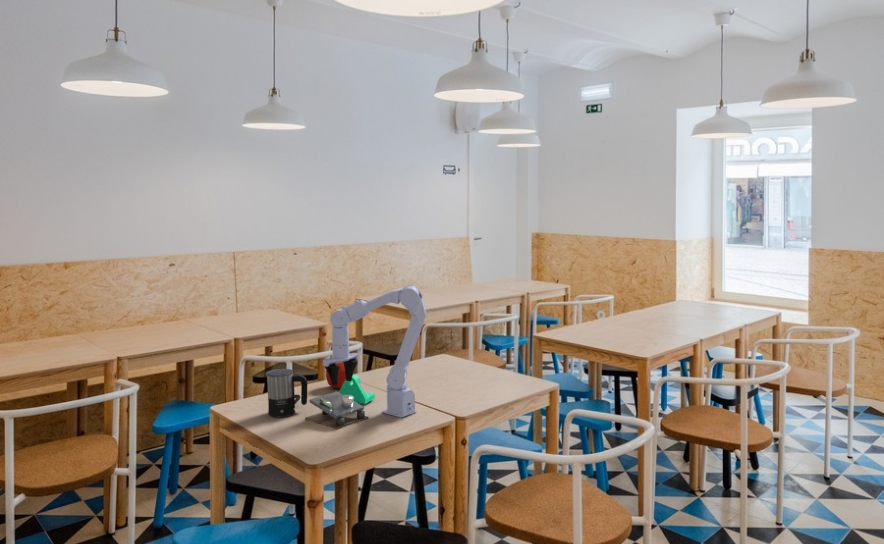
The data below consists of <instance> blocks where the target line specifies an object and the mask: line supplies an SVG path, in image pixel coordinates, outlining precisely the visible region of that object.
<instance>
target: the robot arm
mask: <svg viewBox="0 0 884 544" xmlns="http://www.w3.org/2000/svg"><path fill="white" fill-rule="evenodd" d="M391 303H392V304H395V305H399V304H400V303H401V305H402V306H403V307H404V308H406V309H407V311H408V312H409V315H410V317H411V319H410V322H409V324H408V327H407V330H406V331H405V335H404V338H403V340H402V343H401V346H400V348H399V352H398V354H397V356H396V360H395V361H394V365H393V366H392V367H391V368H390V369H389V372H388V374H387V375H386V384H387V385H386V409H383V410H381V413H383V414H385V415H386V414H387V415H391V416H394V417H397V418H405V417H406V416H410V415H412V414H415V413H417V412H418V411H417V410H416V401H415V400H416V396H415V392H414V391H413V390H412V389H410V388H409V385H408V384H407V382H406V379H407V377H408V367H409V365H410V364H409V363H410V361H411V357H412V355H413V352H414V349H415V347H416V345H417V341H418V339H419V336H420V333H421V331H422V329H423V325H424V322H425V319H426V317H427V310H426V307H425V303H424V298H423V294H422V293H421V291H420V290H419V288H418V287H417V286H415V285H412V284H408V285H406V286H404V287H399V288H395V289H392V290H391V291H388V292H386V293H383V294H381V295H379V296H376V297H374V298H372V299H370V300H368V301H366V300H363V299H360V300H359V299H355V300H354V303H350V304H349V305H343V306H341V308H338V309H336V310H335V311H334V312H332V314H331V315H330V317H329V322H330V323H331V330H332V331H331V343H332V345H331V347H332V355H331V357H328V358H326V359H323V360H322V366H323V367H324V368H325V371H326V370H327V372H328V374H329V376H330V379H331V383H332V385H335V386H336V385H337V383H338V371H339V366H336V365H335V364H337V363H341V362H343V363H344V367H345V376H346V381H351V380H352V376H353V375H354V372H355V369H356V367H357V365H358V360H359V358H360V357H359V356H360V354H359V353H358V352H352V353H350V331H349V323H353V322H356V321H357V320H360V319H363V318H365V317H367V316H369V314H370V312H371V311H373V310H375V309H377V308H380V307H383V306H385V305H387V304H391Z"/></svg>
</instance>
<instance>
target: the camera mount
mask: <svg viewBox="0 0 884 544" xmlns="http://www.w3.org/2000/svg"><path fill="white" fill-rule="evenodd" d="M338 392H339V393H341V394H342V395H352V396H353V397H354V399H353V401H354V402H356V403H358V404H367V403H369V402H370V401H372V400H375V398H376V396H375V393H373V392H365V391H364V389H363V387H362V385H361V378H360V377H359V376H358V374H353V376H352V380H351V381H346V380H345V382H344V384H343V385H342V387H341V389H339V391H338Z"/></svg>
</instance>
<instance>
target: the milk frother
mask: <svg viewBox="0 0 884 544" xmlns="http://www.w3.org/2000/svg"><path fill="white" fill-rule="evenodd" d="M293 372H294V370H293V369H290V368H278V369H277V368H276V369H272V370H271V369H270V370H268V371H266V372H265V375H266V379H267V380H266V381H267V382H266V383H267V399H268V400H267V401H268V409H267V410H268V411H267V416H269V417H271V418H284V417H290V416H292V415H294V414H295V413H296V409H295V408H296V404H297V403H298V402H299V401H300V402H301V405H302V406H306V405H307V403H308V380H307V378H306V377H305V376H304V375H303V374H301V373H300V374H299V373H293ZM295 381H299V383H301V388H300V391H301V392H300V393H301V395H300V394H295V383H294V382H295Z"/></svg>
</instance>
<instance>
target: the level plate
mask: <svg viewBox="0 0 884 544" xmlns="http://www.w3.org/2000/svg"><path fill="white" fill-rule="evenodd" d="M353 399H354V397H353V396H352V395H342V394H341V393H339V391H333V392H331V393H327V394H324V395H321V396H317V397H313V398H309V401H308V402H309V403H310V404H311V405H313V406H315V407H316V408H318V409H320V410H321V411H322V410H323V411H324V412H326V413H328V414H329V415H331V416H333V417H334V418H336V419H337V418H340V417H343V416H346V415H350V414H353V413H357V412H359V411H365V407H364V406H363V405H361V403H359V404H358V403H356V402H354V401H353Z"/></svg>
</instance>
